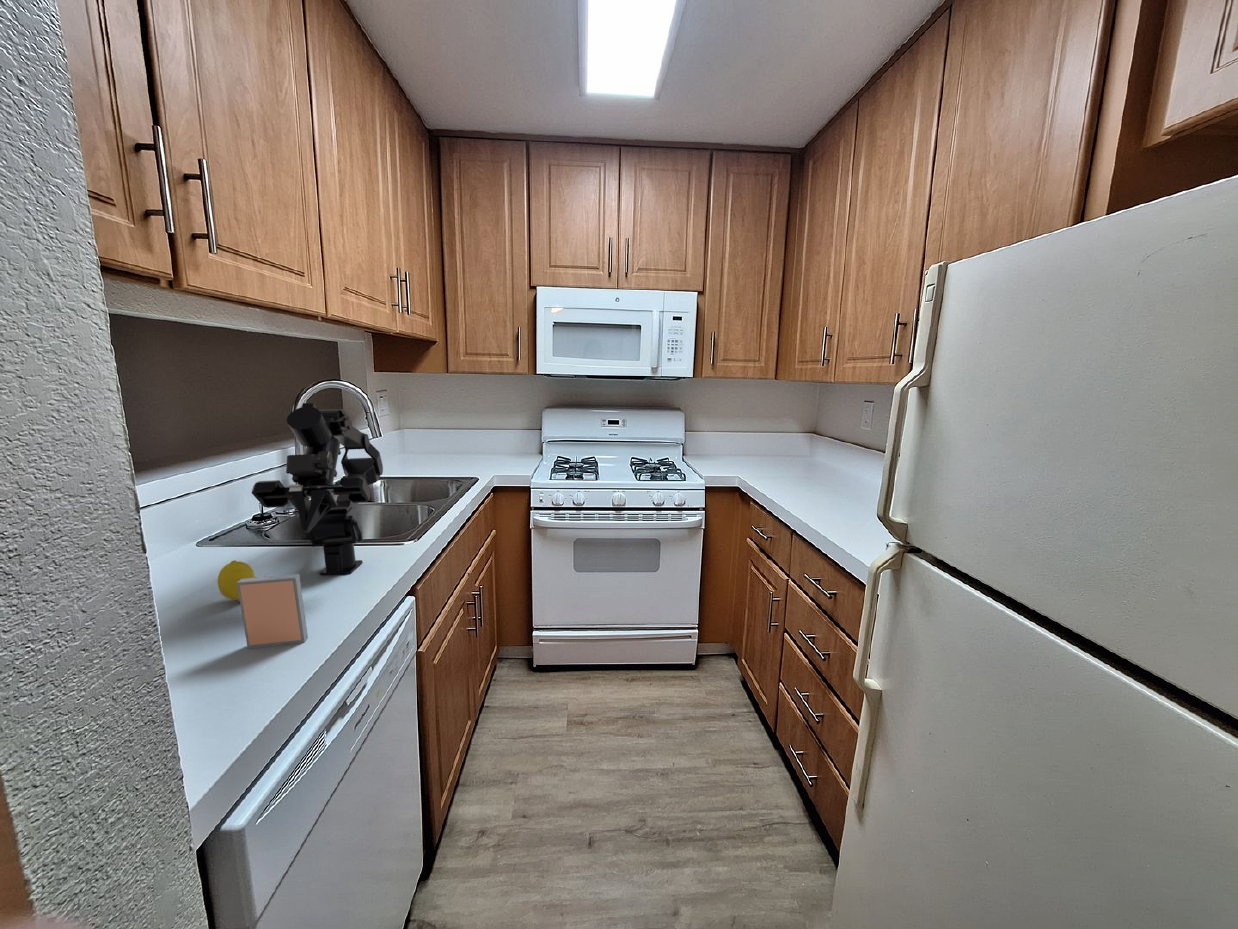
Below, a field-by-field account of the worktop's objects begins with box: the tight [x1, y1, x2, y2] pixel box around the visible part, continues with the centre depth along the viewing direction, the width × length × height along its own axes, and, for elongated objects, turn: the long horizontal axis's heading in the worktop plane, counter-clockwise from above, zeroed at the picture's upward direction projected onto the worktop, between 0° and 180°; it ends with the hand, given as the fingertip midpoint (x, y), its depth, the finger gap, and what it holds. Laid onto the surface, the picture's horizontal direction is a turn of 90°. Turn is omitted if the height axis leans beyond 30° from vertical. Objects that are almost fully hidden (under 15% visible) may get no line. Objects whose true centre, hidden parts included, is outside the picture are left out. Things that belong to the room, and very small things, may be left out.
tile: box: [237, 573, 309, 649], centre depth 78 cm, size 2×8×11 cm, turn 102°
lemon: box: [217, 559, 256, 602], centre depth 92 cm, size 6×6×8 cm
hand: (305, 531), depth 90 cm, fingers closed
